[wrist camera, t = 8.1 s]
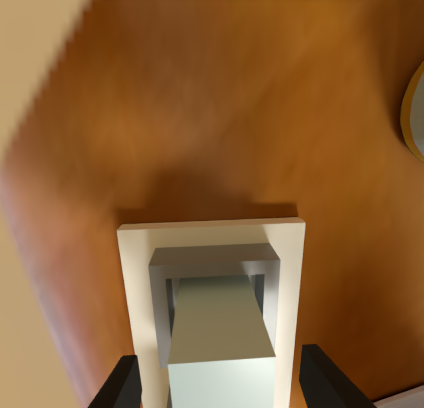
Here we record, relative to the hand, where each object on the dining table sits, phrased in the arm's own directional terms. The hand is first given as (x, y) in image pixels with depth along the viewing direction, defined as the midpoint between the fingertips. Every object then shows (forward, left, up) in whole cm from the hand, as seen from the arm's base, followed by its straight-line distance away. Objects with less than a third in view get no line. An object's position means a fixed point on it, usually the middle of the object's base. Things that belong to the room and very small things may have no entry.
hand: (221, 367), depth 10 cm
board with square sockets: (+2, +5, -6) cm, 8 cm away
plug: (0, 0, -5) cm, 5 cm away
